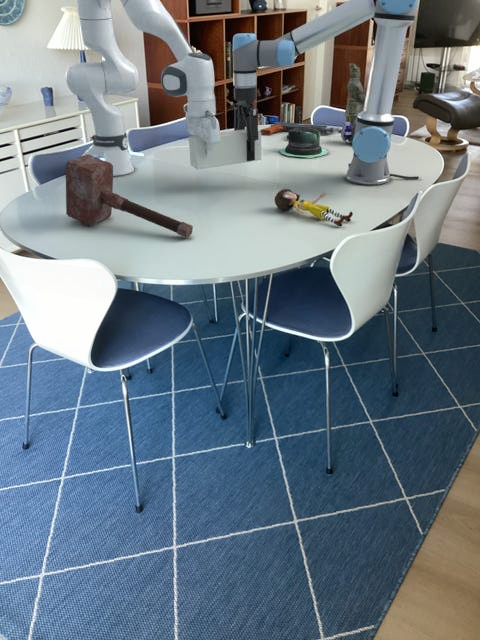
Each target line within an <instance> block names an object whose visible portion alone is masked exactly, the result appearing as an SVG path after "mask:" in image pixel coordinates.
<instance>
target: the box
mask: <svg viewBox="0 0 480 640" xmlns="http://www.w3.org/2000/svg"><path fill="white" fill-rule="evenodd" d="M246 140H248V137H247V131H246V128H245V129H244V130H236V131H234V130H229V131H220V143H218V144H213V148H212V155H210V156H208V155H206V152H205V150H206V147H207V145H206V142H205V141H203V140H202V139H201V138H199V137H197V136H193V135H189V136H188V146H189V147H188V148H189V161H190V162H189V164H190V166H191V167H193V168H194V169H196V170H205V169H212V168H217V167H224V166H231V165H238V164H244V163H252V162H257V161H262V133H261V131H260V130H258V140H256V141H255V160H253V161H247V142H246Z"/></svg>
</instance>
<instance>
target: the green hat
mask: <svg viewBox="0 0 480 640" xmlns="http://www.w3.org/2000/svg"><path fill="white" fill-rule="evenodd" d="M288 134H289V139H287V140H288V141H287V142H288V143H287V145H286V146H285V147H283V148H281V149H280V150H279V153H280V154H282V155H285V156H289V157H296V158H297V157H298V158H307V159H309V158H310V159H311V158H313V159H314V158H317V157H323V156H326V155H327V154H328V150H326V149H325V148H322V146H321V144H320V142H321V132H319V131H318V130H316V129H311V128H298V129H294V130H291V131H288Z"/></svg>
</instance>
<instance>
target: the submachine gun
mask: <svg viewBox="0 0 480 640" xmlns="http://www.w3.org/2000/svg"><path fill="white" fill-rule="evenodd" d="M298 128H311V129H316V130H318V131H319V132H320V133H321V135H322V136H329V135H331V134H333V133H334V131H335V129H334V128H333V127H329V128H328V125H321V124H310V123H298V122H287V121H286V122H285V121H276V122H275V121H274V122H273V124H270V126H269V127H265V128H261V129H260V130H259V131H261V135H265V136H266V135H267V136H270V135H272V134H274V133H278V132H289V131H291V130H294V129H298ZM286 140H289V133H288V134H287V135H286Z"/></svg>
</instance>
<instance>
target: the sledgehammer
mask: <svg viewBox="0 0 480 640" xmlns="http://www.w3.org/2000/svg"><path fill="white" fill-rule="evenodd" d="M81 156H82V155H81ZM81 156H79V157H76V158H73V159H71V160H68V161H67V162H65V208H66V210H65V211H66V212H65V213H66V216H68V218H71V219H72V220H76V221H78V222H80V223H82V224H84V225H87V226H89V227H93V226H95V225H97V224H99V223H101V222H103V221H105V220H106V219H109V218H111V216H112V211H113V209H115V210H119V211H121V212H126V213H128V214H131V215H133V216H134V217H137V218H140V219H142V220H145V221H147V222H149V223H151V224H155V225H157V226H160V227H162V228H164V229H167V230H169V231H171V232H174V233H176V234H177V235H178V236H181V237H183V238H186V239H189V238H190V236H191V235H192V233H193V227H194V226H193V225H192V224H189V223H186V222H184V221H180V220H177V219H174V218H172V217H170V216H168V215H164V214H162V213H159V212H157V211H155V210H153V209H150V208H148V207H146V206H143V205H141V204H138V203H135V202H133V201H131V200H129V199H128V198H126V197H124V196H121V195H120V194H118V193H115V192H114V191H113V190H114V189H113V188H114V176H113V165H112V164H111V163H109V162H107V161H104V160H101V159H99V158H96V157H94V156H91V155H89V154H87V155H84V156H82V157H81Z"/></svg>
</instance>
